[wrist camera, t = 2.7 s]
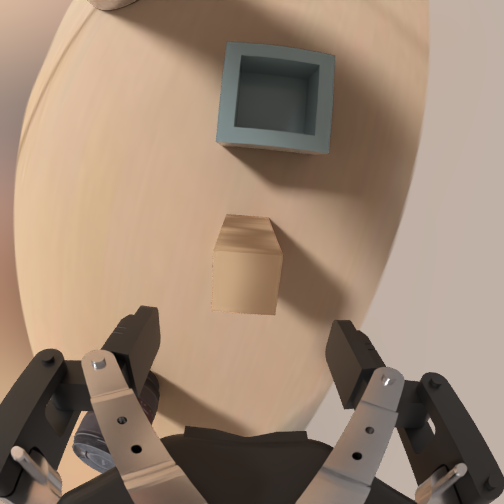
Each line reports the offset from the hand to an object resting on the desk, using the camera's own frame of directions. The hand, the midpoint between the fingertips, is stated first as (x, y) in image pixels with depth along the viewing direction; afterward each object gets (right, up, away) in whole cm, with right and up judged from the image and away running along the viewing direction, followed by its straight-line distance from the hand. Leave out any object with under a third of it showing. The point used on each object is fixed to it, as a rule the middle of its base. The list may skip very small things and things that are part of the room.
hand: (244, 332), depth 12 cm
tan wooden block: (0, +5, +15) cm, 16 cm away
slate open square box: (+2, +17, +11) cm, 20 cm away
